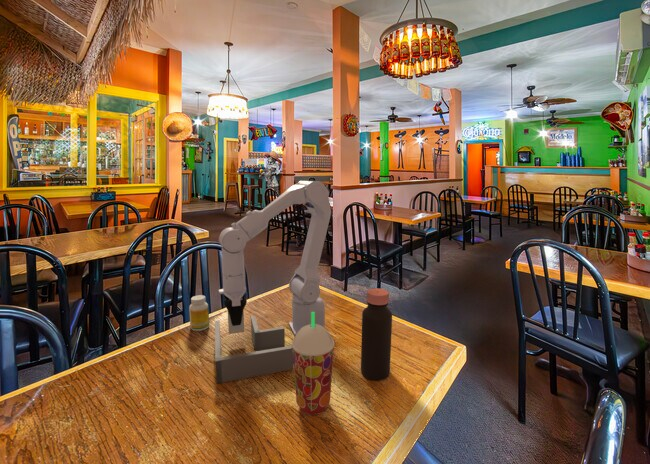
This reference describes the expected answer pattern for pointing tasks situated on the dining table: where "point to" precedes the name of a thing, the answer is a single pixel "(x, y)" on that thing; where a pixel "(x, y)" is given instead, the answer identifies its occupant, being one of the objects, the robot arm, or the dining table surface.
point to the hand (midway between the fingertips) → (236, 321)
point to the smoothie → (313, 367)
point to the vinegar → (376, 335)
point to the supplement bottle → (199, 313)
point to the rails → (254, 355)
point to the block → (238, 327)
